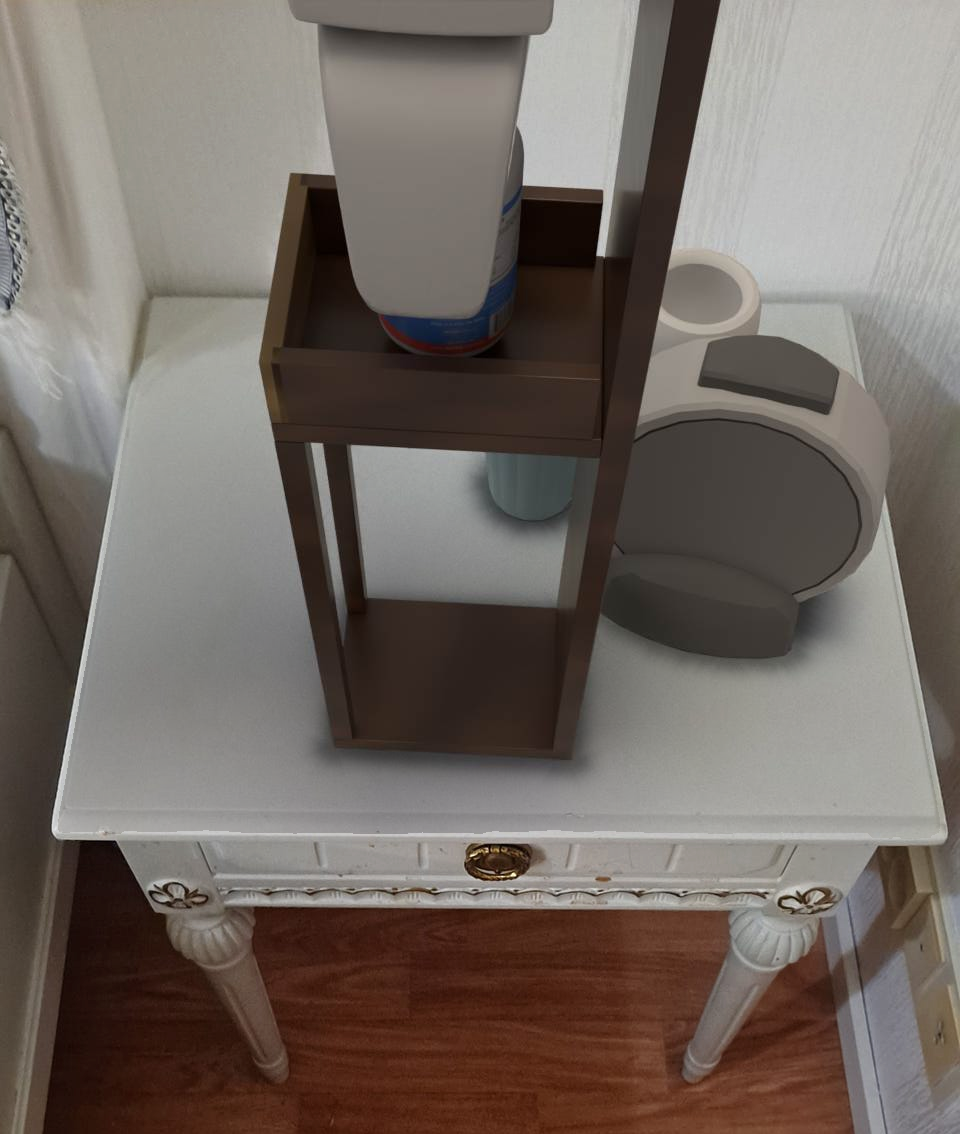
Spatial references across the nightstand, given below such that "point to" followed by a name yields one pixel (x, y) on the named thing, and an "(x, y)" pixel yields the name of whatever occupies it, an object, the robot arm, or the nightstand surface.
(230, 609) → the nightstand surface
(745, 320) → the mug
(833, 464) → the alarm clock
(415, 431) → the rack
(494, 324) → the pill bottle
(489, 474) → the cup
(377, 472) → the nightstand surface
